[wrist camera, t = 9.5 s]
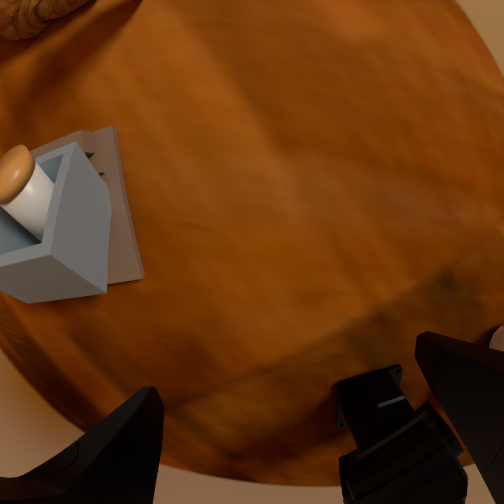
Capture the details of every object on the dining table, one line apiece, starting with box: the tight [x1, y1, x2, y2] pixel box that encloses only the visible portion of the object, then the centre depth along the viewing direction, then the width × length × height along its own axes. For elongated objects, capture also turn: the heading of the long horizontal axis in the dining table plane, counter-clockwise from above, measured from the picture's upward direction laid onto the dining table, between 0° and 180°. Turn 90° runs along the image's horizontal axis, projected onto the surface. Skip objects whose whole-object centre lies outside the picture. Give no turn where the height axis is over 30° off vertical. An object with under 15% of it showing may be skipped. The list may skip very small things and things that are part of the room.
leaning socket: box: [0, 126, 145, 304], centre depth 14 cm, size 11×9×9 cm
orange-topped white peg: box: [0, 145, 55, 242], centre depth 14 cm, size 3×3×7 cm
